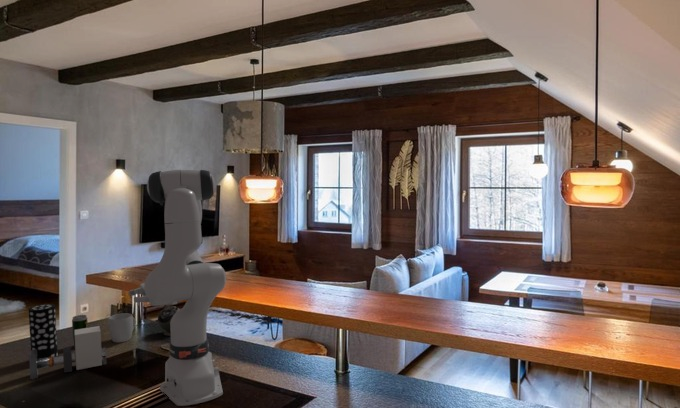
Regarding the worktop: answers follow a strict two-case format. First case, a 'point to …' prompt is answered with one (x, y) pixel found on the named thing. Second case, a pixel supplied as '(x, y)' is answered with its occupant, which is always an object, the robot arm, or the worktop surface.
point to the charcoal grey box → (67, 359)
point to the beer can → (78, 324)
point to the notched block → (88, 347)
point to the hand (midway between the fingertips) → (131, 296)
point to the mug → (121, 327)
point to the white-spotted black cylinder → (43, 330)
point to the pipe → (51, 361)
